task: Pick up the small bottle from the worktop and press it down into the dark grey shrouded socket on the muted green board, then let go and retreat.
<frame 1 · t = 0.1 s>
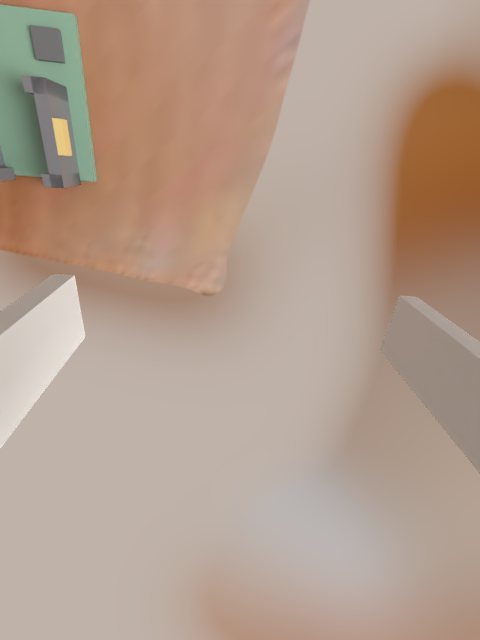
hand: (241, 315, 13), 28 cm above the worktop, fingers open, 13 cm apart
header: (34, 135, 33), resting on board
board: (27, 101, 31), on the worktop
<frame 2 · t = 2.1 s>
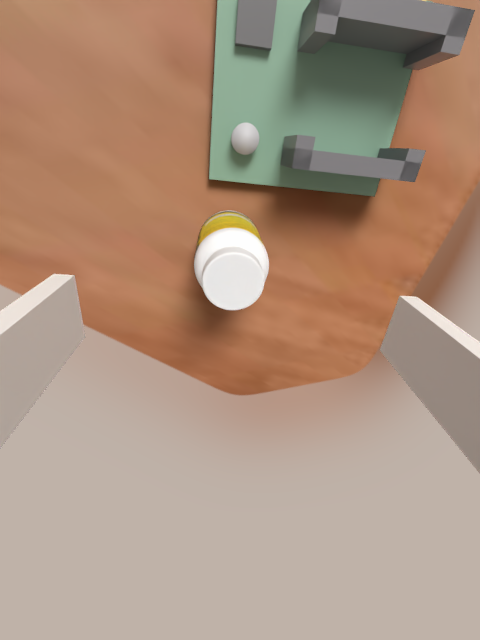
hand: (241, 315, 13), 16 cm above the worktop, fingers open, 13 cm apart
supplement bottle: (228, 240, 28), on the worktop
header: (345, 105, 23), resting on board
board: (307, 100, 23), on the worktop
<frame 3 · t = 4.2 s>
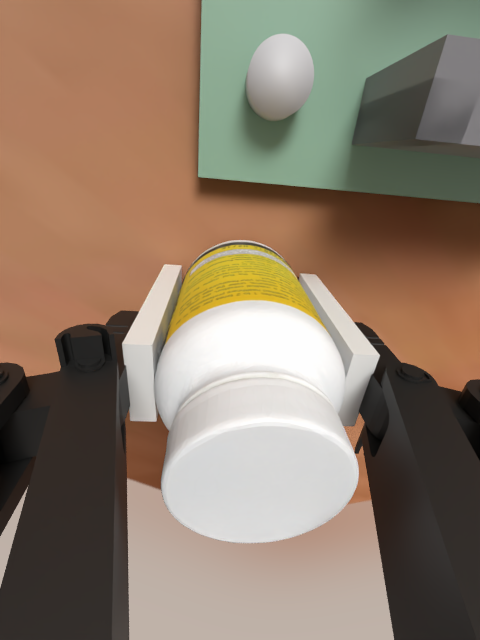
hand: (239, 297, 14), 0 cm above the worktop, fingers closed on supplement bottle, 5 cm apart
supplement bottle: (238, 292, 15), on the worktop, touching gripper
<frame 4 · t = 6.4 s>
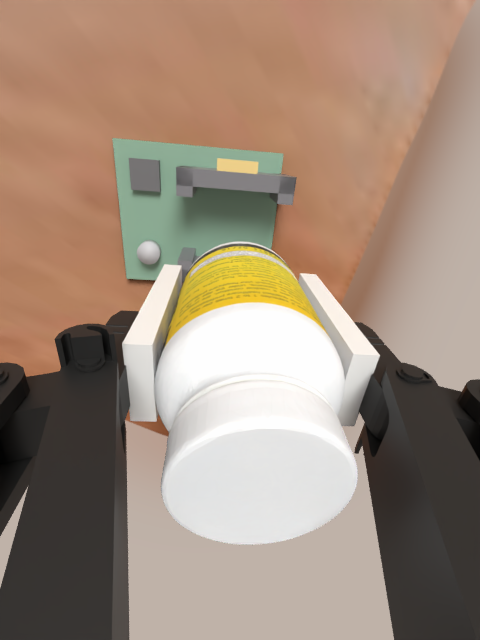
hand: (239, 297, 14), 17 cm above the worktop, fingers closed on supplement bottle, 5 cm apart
supplement bottle: (238, 293, 15), point 16 cm above the worktop, touching gripper
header: (231, 221, 29), resting on board
board: (199, 219, 29), on the worktop
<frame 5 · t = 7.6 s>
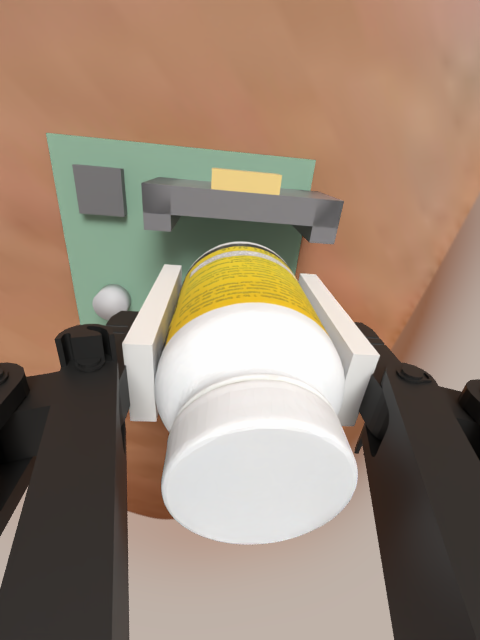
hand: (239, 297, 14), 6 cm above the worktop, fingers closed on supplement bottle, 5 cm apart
supplement bottle: (238, 293, 15), point 6 cm above the worktop, touching gripper
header: (233, 257, 20), resting on board
board: (186, 254, 20), on the worktop
when the fingers open (3 cm above the worktop, at t = 8.5 s): supplement bottle drops 1 cm, resting on board.
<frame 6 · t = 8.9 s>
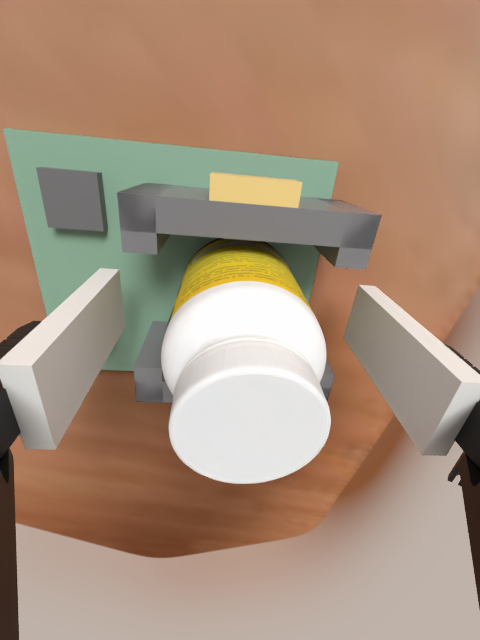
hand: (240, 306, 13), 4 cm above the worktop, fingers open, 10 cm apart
supplement bottle: (235, 282, 16), point 1 cm above the worktop, touching board
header: (236, 277, 17), resting on board
board: (181, 274, 16), on the worktop
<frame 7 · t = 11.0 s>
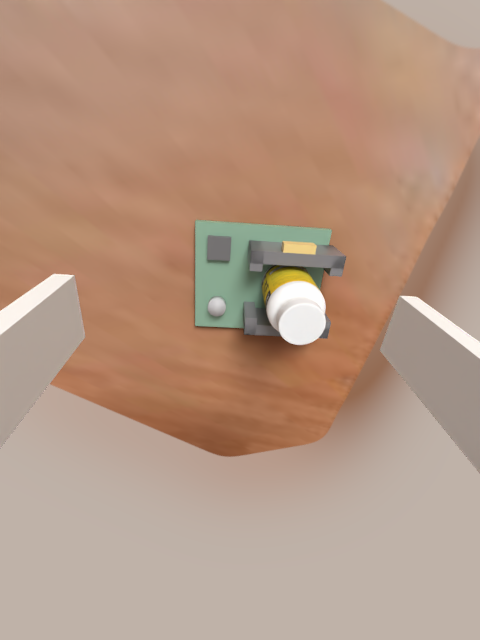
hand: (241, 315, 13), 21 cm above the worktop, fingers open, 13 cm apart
supplement bottle: (284, 282, 34), point 1 cm above the worktop, touching board
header: (284, 280, 35), resting on board
board: (258, 278, 35), on the worktop
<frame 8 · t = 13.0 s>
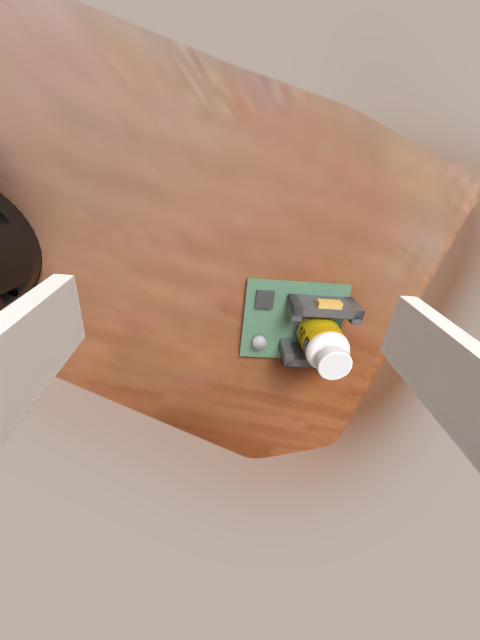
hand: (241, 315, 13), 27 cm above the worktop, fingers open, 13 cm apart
supplement bottle: (312, 323, 43), point 1 cm above the worktop, touching board
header: (312, 321, 44), resting on board
board: (291, 320, 44), on the worktop
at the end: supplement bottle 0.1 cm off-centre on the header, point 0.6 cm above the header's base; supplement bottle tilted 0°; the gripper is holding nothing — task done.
